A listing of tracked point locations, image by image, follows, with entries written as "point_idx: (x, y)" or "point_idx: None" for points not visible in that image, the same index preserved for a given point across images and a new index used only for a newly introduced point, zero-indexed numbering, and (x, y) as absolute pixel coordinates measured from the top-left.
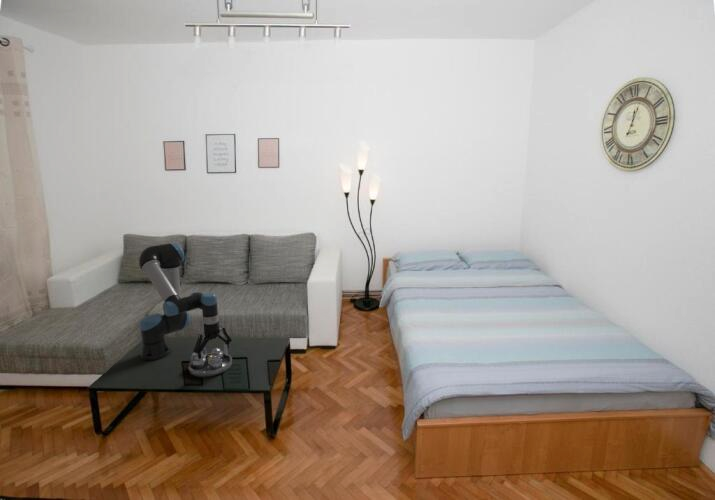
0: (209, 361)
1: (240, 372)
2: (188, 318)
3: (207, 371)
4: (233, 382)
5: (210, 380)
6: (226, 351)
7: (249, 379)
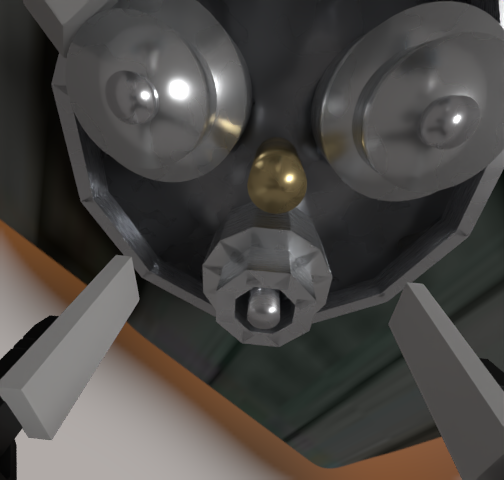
0: (225, 250)
1: (347, 356)
2: None
3: (175, 292)
4: (259, 390)
5: (183, 307)
6: (411, 369)
7: (323, 416)
